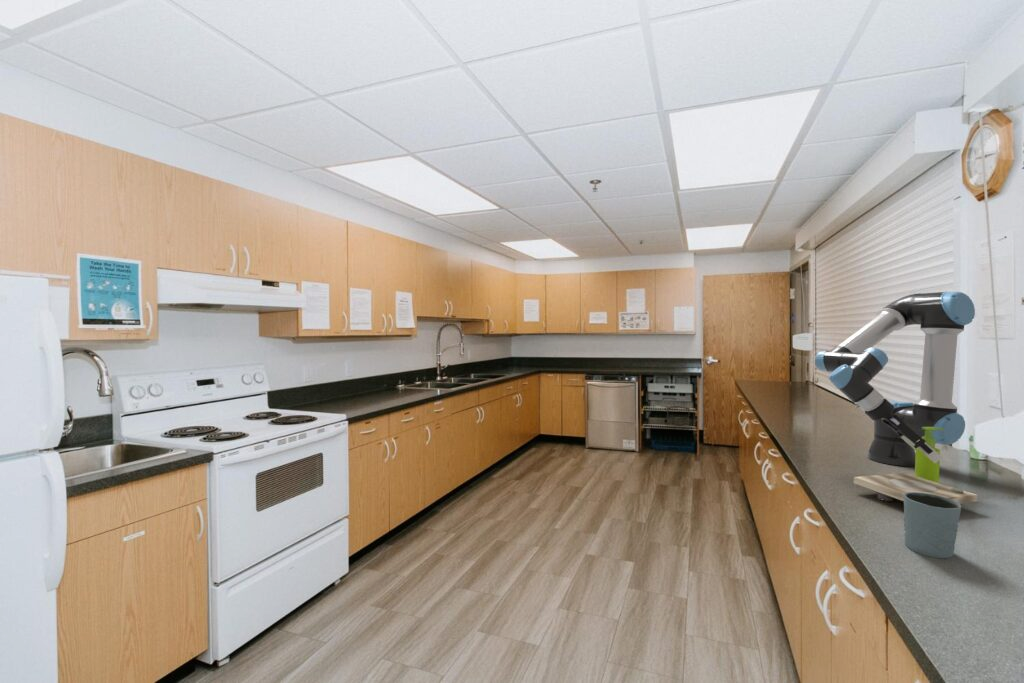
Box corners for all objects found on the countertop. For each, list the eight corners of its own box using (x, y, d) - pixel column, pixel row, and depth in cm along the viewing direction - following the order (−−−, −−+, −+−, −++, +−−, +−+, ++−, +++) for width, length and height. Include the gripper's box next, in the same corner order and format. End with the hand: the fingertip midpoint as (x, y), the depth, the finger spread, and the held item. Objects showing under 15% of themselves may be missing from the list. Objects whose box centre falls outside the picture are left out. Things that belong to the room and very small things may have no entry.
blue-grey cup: (901, 536, 118) (903, 488, 118) (957, 548, 112) (959, 498, 111) (902, 551, 110) (903, 500, 110) (961, 565, 104) (963, 511, 103)
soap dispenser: (947, 492, 149) (949, 429, 148) (921, 491, 150) (924, 428, 149) (934, 486, 155) (936, 425, 154) (910, 485, 156) (912, 424, 155)
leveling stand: (904, 488, 153) (905, 471, 153) (976, 512, 133) (977, 492, 133) (853, 492, 149) (853, 475, 148) (920, 518, 129) (920, 497, 129)
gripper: (854, 406, 170) (904, 452, 164) (875, 419, 147) (935, 473, 141) (872, 392, 167) (924, 438, 162) (897, 403, 144) (959, 457, 139)
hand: (929, 454), depth 152 cm, fingers open, 13 cm apart
